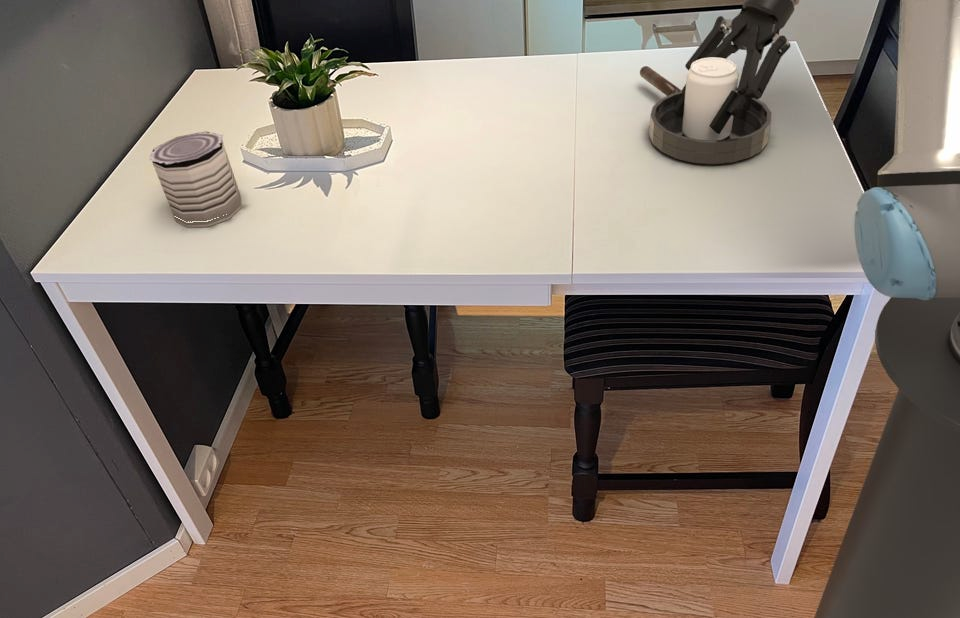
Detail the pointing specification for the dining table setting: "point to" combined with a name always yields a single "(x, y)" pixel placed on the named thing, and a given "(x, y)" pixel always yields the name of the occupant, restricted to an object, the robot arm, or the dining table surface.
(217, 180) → the can
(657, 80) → the pan handle
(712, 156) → the pan
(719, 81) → the beverage can
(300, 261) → the dining table surface
